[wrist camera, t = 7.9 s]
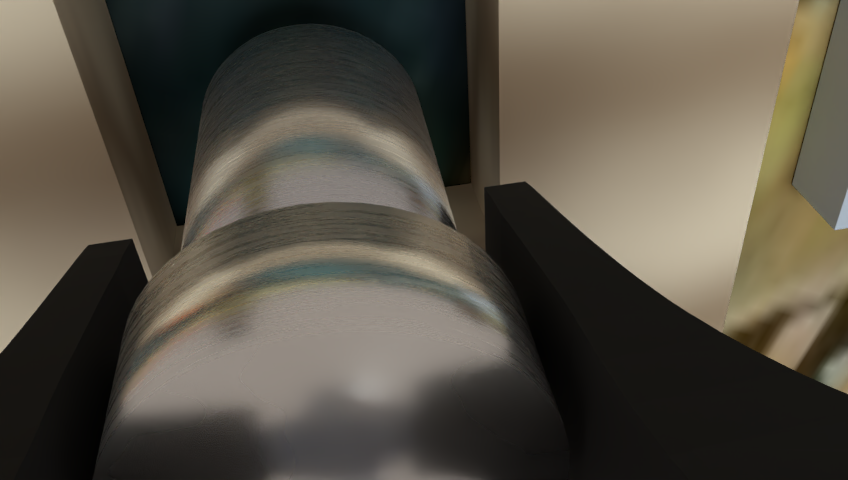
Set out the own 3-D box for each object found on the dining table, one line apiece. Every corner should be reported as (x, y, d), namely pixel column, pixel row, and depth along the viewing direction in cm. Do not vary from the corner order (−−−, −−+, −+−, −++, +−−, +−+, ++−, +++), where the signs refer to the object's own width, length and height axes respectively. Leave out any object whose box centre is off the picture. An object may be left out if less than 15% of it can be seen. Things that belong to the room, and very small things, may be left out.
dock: (672, 260, 22) (721, 337, 20) (-8, 367, 21) (-42, 464, 18) (778, -387, 13) (889, -387, 11) (-384, -287, 12) (-542, -263, 10)
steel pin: (453, 217, 17) (560, 584, 10) (208, 251, 16) (164, 652, 10) (441, -23, 13) (583, 294, 7) (137, 13, 13) (10, 378, 7)
